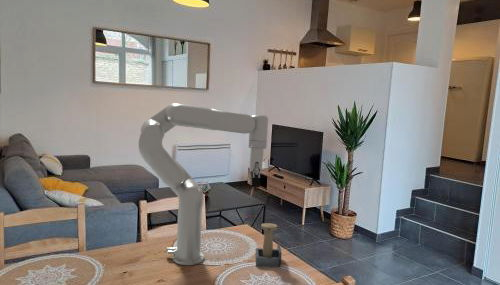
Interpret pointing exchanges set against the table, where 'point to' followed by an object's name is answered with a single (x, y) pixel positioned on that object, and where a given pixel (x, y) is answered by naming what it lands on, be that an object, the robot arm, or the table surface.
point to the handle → (268, 238)
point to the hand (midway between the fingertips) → (255, 184)
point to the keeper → (269, 258)
